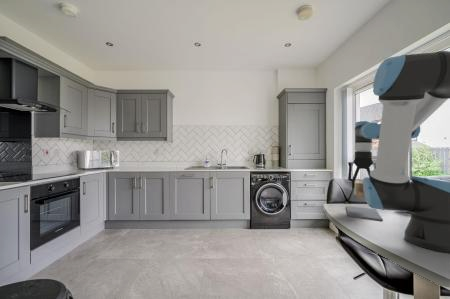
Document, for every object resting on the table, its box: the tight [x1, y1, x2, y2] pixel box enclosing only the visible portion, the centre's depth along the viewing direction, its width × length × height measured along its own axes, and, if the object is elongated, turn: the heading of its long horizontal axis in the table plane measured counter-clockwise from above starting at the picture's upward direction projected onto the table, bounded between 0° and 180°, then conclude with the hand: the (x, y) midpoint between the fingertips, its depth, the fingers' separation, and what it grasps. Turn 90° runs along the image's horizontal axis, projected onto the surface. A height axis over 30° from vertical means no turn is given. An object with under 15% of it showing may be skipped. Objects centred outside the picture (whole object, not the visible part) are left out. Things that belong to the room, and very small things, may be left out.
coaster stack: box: [355, 180, 365, 199], centre depth 111 cm, size 6×9×7 cm, turn 152°
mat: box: [345, 205, 384, 222], centre depth 111 cm, size 20×14×1 cm
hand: (362, 195), depth 111 cm, fingers closed on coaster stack, 6 cm apart
